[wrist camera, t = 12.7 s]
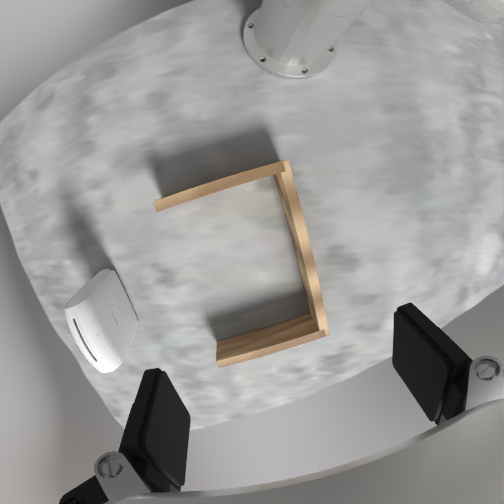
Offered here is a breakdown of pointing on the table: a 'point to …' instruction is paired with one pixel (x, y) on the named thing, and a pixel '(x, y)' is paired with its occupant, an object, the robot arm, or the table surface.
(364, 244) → the table surface
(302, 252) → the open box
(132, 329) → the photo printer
